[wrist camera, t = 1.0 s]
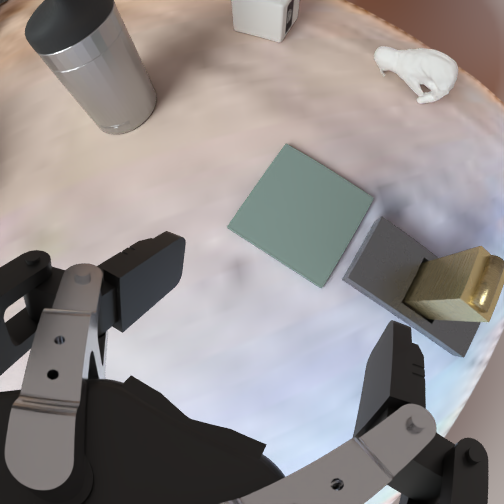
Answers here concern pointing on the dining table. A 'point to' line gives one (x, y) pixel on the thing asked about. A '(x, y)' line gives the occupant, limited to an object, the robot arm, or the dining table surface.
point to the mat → (302, 215)
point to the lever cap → (457, 287)
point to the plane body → (402, 283)
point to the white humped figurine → (420, 70)
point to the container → (265, 17)
